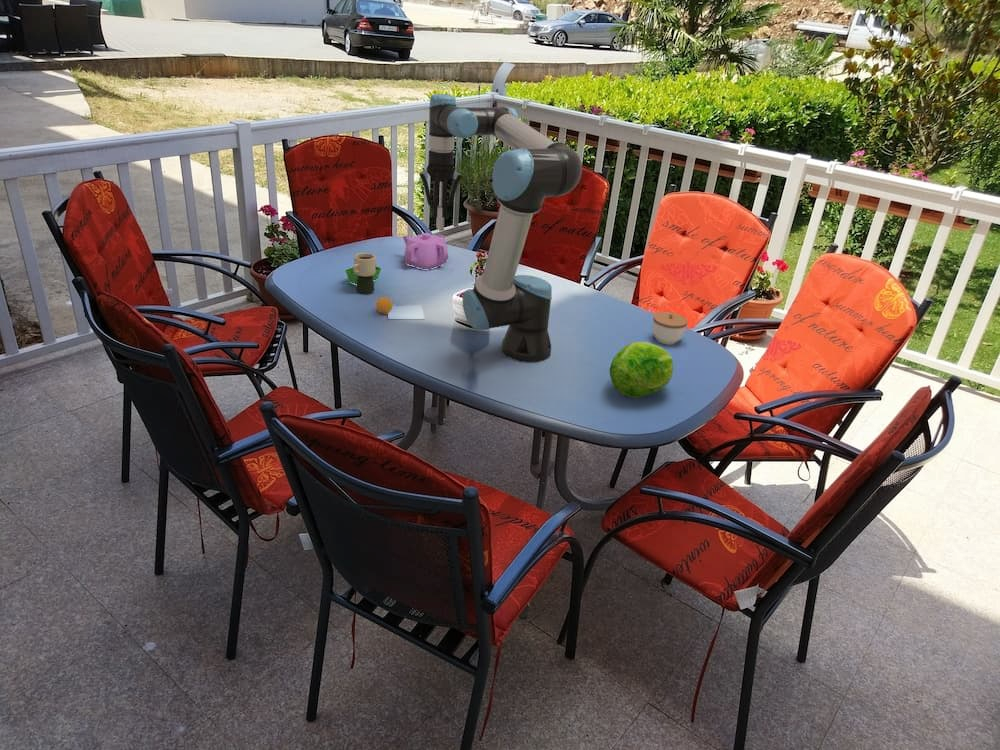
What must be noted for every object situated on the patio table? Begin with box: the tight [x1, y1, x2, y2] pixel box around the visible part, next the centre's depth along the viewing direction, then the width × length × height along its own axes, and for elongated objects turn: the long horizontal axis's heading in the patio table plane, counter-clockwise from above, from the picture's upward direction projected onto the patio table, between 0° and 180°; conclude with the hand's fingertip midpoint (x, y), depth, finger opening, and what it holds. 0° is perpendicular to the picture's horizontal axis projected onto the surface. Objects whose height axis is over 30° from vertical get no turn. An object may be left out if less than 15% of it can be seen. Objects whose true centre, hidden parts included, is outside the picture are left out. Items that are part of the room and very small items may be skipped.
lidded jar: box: [652, 311, 688, 346], centre depth 227 cm, size 11×11×9 cm
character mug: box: [352, 252, 377, 294], centre depth 245 cm, size 11×7×13 cm, turn 147°
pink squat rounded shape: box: [402, 232, 449, 269], centre depth 275 cm, size 17×17×12 cm
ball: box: [375, 296, 394, 315], centre depth 231 cm, size 6×6×6 cm
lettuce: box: [609, 341, 674, 399], centre depth 194 cm, size 15×23×16 cm
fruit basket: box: [345, 265, 382, 284], centre depth 253 cm, size 11×9×11 cm
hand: (438, 227), depth 221 cm, fingers closed
